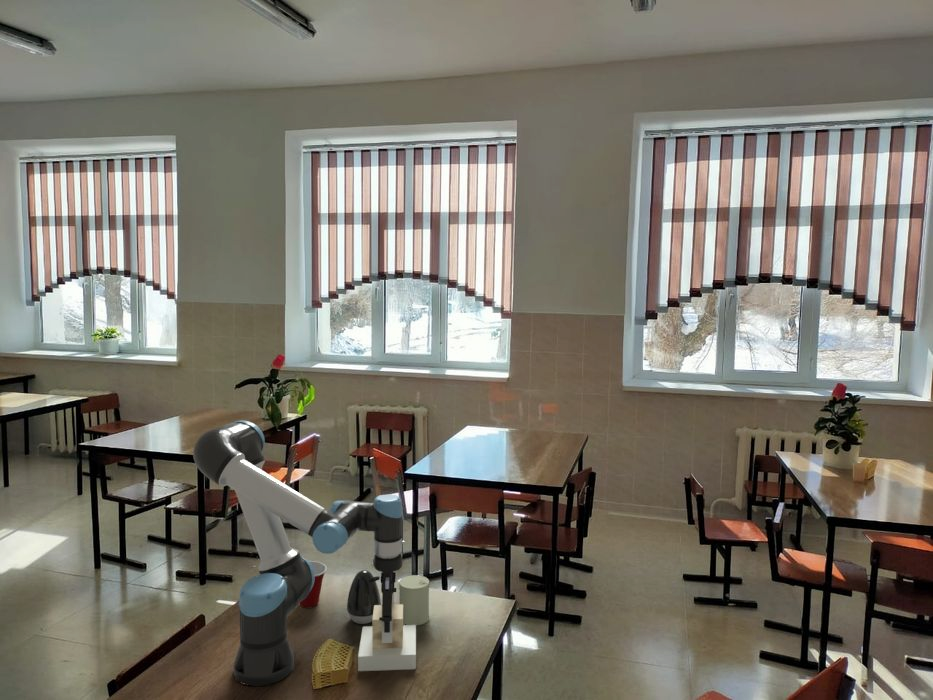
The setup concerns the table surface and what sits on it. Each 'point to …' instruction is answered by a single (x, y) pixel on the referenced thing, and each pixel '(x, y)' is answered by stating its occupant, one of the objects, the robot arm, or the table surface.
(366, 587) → the pump dispenser
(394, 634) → the maple cube
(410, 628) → the white square slab
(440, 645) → the table surface
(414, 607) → the can
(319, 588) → the plastic cup
